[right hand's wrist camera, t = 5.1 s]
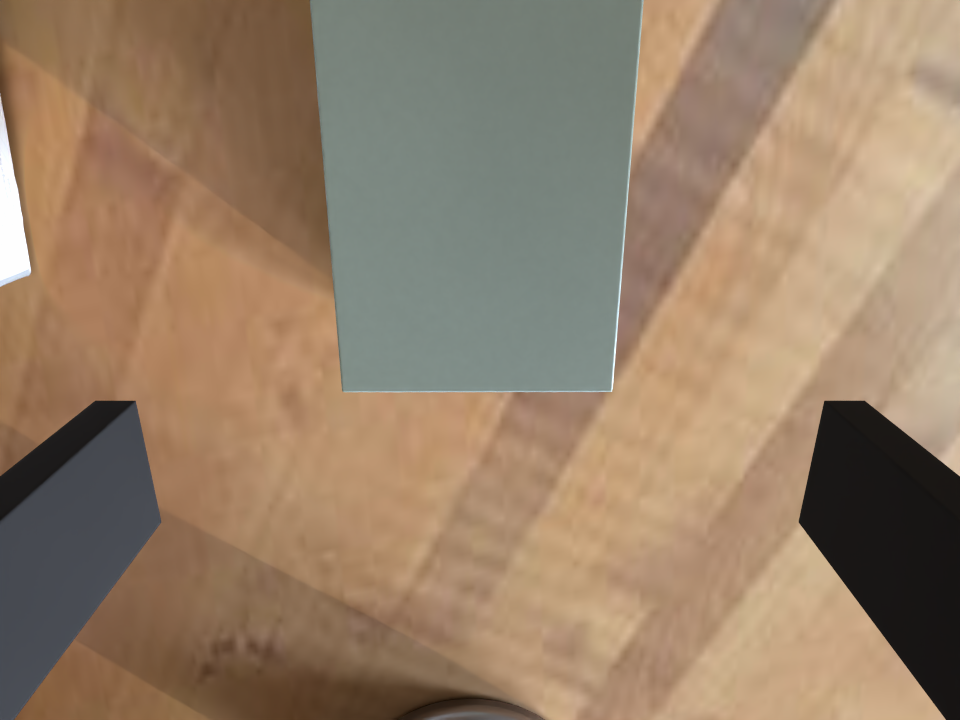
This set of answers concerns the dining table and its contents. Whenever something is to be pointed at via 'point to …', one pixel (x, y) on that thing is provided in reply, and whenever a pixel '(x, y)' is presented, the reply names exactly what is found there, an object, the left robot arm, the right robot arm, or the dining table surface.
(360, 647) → the dining table surface
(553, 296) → the cabinet
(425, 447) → the dining table surface
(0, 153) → the hard drive box
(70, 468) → the right robot arm
